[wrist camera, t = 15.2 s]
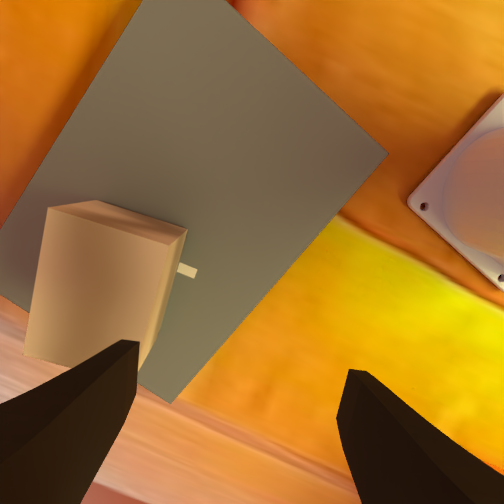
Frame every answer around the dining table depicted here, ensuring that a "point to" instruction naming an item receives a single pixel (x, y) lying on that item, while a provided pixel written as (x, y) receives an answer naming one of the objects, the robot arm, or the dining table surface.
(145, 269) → the block
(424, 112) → the dining table surface
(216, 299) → the board
